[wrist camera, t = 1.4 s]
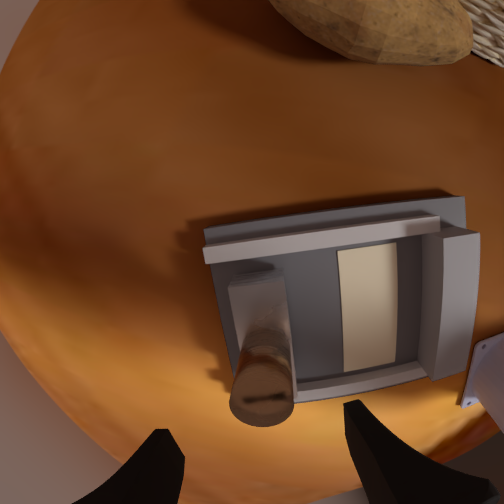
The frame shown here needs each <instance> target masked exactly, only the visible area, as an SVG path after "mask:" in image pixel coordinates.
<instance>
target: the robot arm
mask: <svg viewBox="0 0 504 504" xmlns="http://www.w3.org/2000/svg"><path fill="white" fill-rule="evenodd" d="M478 402H480V403H481V404H482V405H483V407H484V408H485V409H486V410H487V412H488V413H489V414H490V416H491V417H492V418H493V420H494V421H495V422H496V424H497V425H498V426H499V428H500V429H501V430H502V431H503V433H504V332H503V333H501V334H498V335H496V336H493V337H490V338H488V339H485V340H482V341H480V342H478V343H477V344H476V345H475V347H474V352H473V357H472V361H471V366H470V370H469V374H468V378H467V382H466V386H465V390H464V393H463V397H462V400H461V404H460V406H461V408H466V407H468V406H471V405H473V404H475V403H478ZM343 406H344V422H345V436H346V440H347V444H348V447H349V451H350V455H351V457H352V460H353V462H354V465H355V467H356V470H357V472H358V475H359V477H360V480H361V482H362V485H363V487H364V489H365V492H366V495H367V497H368V500H369V504H497V502H498V501H499V499H500V496H501V495H500V493H499V492H498V490H497V488H496V487H495V486H494V485H493V484H492V483H491V482H490V480H489V479H484V478H480V477H476V476H472V475H468V474H465V473H462V472H459V471H456V470H454V469H451V468H449V467H447V466H444V465H442V464H440V463H438V462H435V461H433V460H432V459H430V458H428V457H426V456H424V455H423V454H421V453H419V452H418V451H416V450H415V449H413V448H412V447H410V446H409V445H407V444H406V443H405V442H403V441H402V440H401V439H399V438H398V437H397V436H396V435H394V434H393V433H392V432H391V431H390V430H389V429H388V428H386V427H385V426H384V425H383V424H382V423H381V422H380V421H379V420H378V419H377V418H376V417H375V416H374V415H373V414H372V413H371V412H370V411H369V410H368V409H367V407H366V406H365V405H364V404H363V403H362V401H361V400H359V399H357V400H354V401H350V402H346V403H343ZM184 464H185V456H184V455H183V453H182V451H181V450H180V448H179V447H178V445H177V443H176V442H175V440H174V438H173V436H172V435H171V433H170V431H169V430H168V429H155V430H154V431H153V432H152V433H151V434H150V436H149V437H148V438H147V439H146V440H145V441H144V443H143V444H142V445H141V446H140V447H139V448H138V450H137V451H136V452H135V453H134V454H133V455H132V456H131V457H130V459H129V460H128V461H127V462H126V463H125V464H124V465H123V466H122V467H121V468H120V469H119V470H118V471H117V472H116V473H115V474H114V475H113V476H111V477H110V479H108V480H107V481H106V482H105V483H103V484H102V485H101V486H99V487H98V488H97V489H95V490H94V491H92V492H91V493H89V494H88V495H86V496H84V497H83V498H81V499H79V500H78V501H76V502H74V503H72V504H177V503H178V499H179V494H180V490H181V486H182V481H183V476H184Z"/></svg>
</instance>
